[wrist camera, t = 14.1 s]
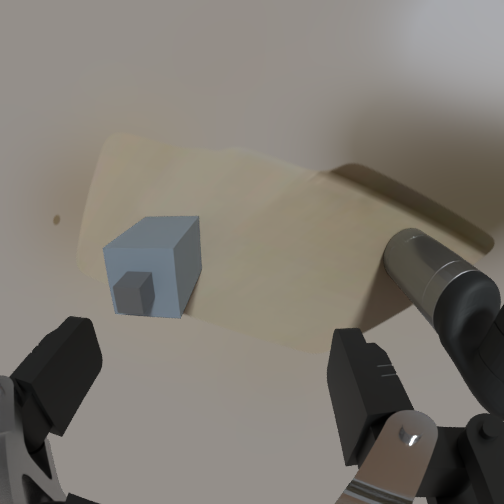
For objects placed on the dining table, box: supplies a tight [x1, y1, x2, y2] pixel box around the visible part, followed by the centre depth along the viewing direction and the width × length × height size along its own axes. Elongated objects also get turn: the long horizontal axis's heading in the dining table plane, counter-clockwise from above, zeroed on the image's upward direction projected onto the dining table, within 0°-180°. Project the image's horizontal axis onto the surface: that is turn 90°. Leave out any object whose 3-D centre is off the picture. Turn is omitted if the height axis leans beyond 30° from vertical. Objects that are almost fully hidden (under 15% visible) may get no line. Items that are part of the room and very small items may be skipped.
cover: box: [103, 216, 202, 318], centre depth 38 cm, size 8×8×18 cm
